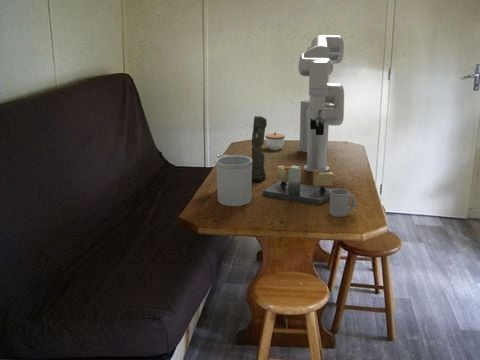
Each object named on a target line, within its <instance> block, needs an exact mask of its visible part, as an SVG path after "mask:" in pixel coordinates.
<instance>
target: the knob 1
mask: <svg viewBox="0 0 480 360" xmlns="http://www.w3.org/2000/svg"><path fill="white" fill-rule="evenodd" d="M290 167H291V165H290V166H289V165H288V166H284V165H277V166H276V178H278V179H279V180H280V181H281V184H286V182H288V175H289V169H290Z"/></svg>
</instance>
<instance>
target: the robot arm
mask: <svg viewBox="0 0 480 360" xmlns="http://www.w3.org/2000/svg"><path fill="white" fill-rule="evenodd" d="M344 50H345V42H344V39H343V38H342V37H341V36H340V35H336V34H335V35H331V34H330V35H329V34H328V35H327V34H326V35H325V34H323V35H322V34H321V35H317V36H315V37H313V39H312V40H311V46H309V47H307V48H306V50H305V51H303V52H302V53H301V55H300V57H299V60H298V66H297V67H298V73H299V75H301V76H303V77H308V96H309V99H310V100H309V108H308V109H307V112H306V116H307V125H308V142H307V153H306V164H305V165H304V166H303V170H304V171H305V172H307V173H313V170H317V171H318V172H319V173H323V172H330V169H331V168H330V166H328V165H327V164H328V163H327V162H328V158H327V157H328V149H327V139H328V140H329V134H328V135H327V132H326V130H325V129H324V125H329V126H340V125H342V124H343V122H344V117H345V116H344V115H345V113H344V112H345V89H344V86H343V85H342V84H340V83H334V82H333V83H332V82H331V83H330V82H329V80H330V79H329V78H330V77H329V76H330V75H331V74H332V73H333V71H334V64H336V65H337V64H340V63H341V62H342V61H343V58H344ZM325 103H328V104H329V105H325ZM332 104H333V105H332Z"/></svg>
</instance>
